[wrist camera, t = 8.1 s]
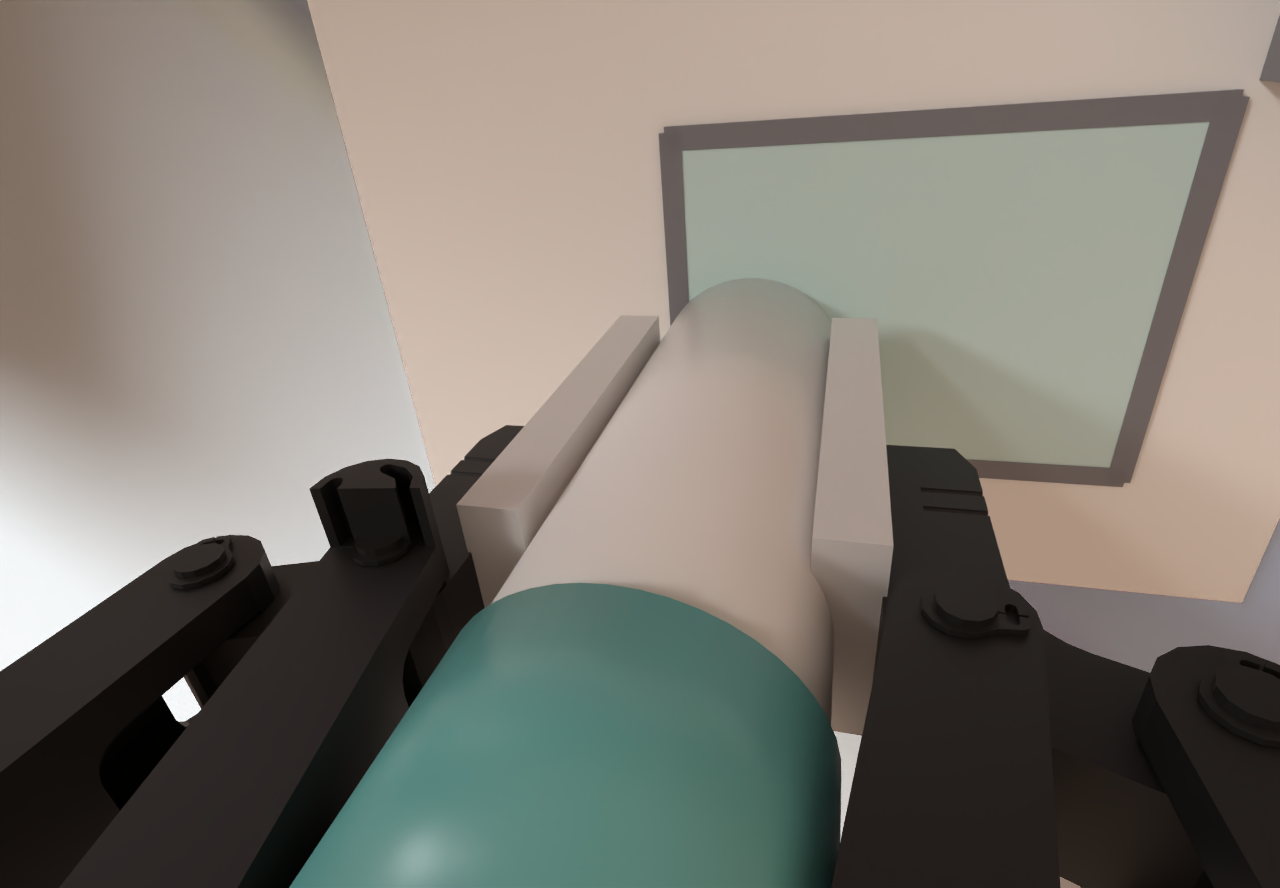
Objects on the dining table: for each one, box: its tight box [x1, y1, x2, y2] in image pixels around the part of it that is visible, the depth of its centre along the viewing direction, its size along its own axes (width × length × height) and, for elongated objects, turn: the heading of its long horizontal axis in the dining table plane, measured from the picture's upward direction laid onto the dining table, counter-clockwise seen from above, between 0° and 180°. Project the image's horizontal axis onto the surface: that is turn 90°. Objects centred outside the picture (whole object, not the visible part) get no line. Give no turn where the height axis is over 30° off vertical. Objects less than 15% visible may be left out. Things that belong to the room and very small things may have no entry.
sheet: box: [307, 0, 1280, 603], centre depth 13 cm, size 18×14×1 cm
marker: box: [289, 278, 841, 888], centre depth 9 cm, size 4×4×12 cm
